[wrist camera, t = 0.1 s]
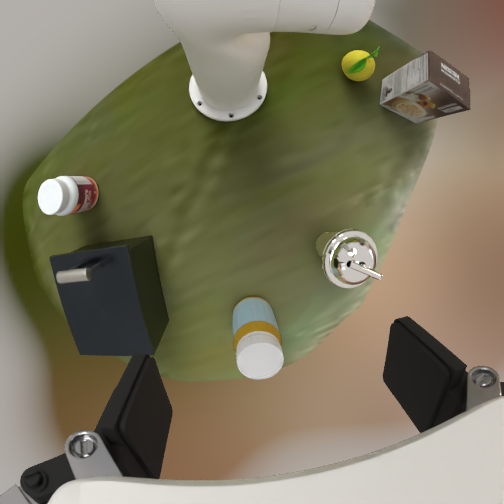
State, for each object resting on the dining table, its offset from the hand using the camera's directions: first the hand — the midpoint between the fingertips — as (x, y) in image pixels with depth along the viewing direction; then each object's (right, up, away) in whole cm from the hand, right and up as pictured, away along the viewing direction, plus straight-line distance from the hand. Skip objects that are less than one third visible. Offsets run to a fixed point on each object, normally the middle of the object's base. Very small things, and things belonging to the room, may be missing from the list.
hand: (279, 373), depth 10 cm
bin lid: (-23, -3, +26) cm, 35 cm away
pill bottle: (-30, +15, +32) cm, 47 cm away
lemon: (+17, +37, +31) cm, 51 cm away
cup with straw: (+12, +6, +37) cm, 40 cm away
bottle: (-1, -6, +39) cm, 40 cm away
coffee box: (+27, +33, +32) cm, 54 cm away
